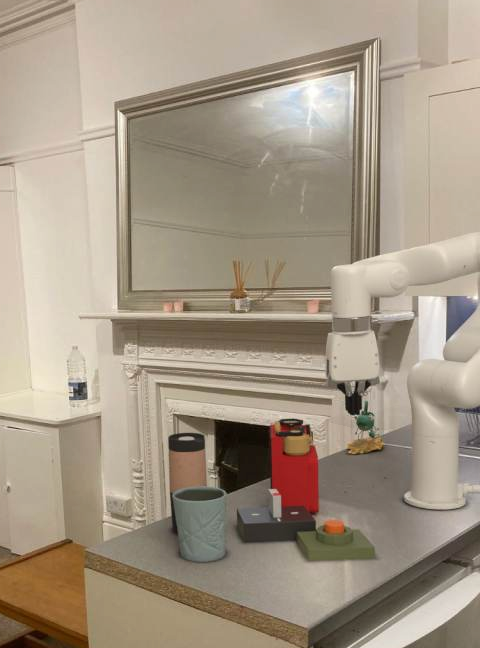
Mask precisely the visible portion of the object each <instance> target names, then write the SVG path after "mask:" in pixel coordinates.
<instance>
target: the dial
mask: <svg viewBox="0 0 480 648" xmlns="http://www.w3.org/2000/svg"><path fill="white" fill-rule="evenodd" d="M267 491H268V492H267V493H268V507H269V511H270V513H271V515H272V516H273V518H281V495H280V494H279V492H278V491H277V489H271V488H268V490H267Z"/></svg>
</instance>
